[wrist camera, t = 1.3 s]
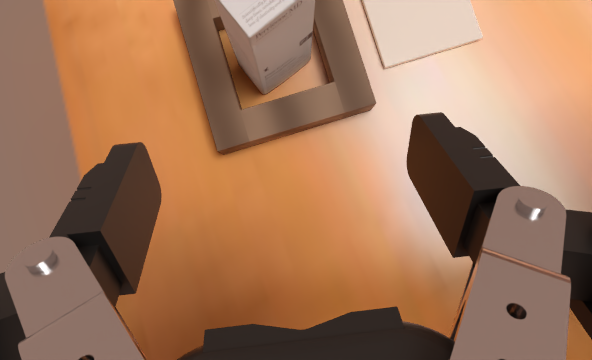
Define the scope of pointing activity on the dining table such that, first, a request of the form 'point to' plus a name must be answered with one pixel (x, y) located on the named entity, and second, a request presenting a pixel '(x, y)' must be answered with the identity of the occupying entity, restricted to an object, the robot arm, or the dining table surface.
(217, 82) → the frame
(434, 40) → the ceramic tile
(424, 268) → the dining table surface
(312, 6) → the skincare box
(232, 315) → the dining table surface
